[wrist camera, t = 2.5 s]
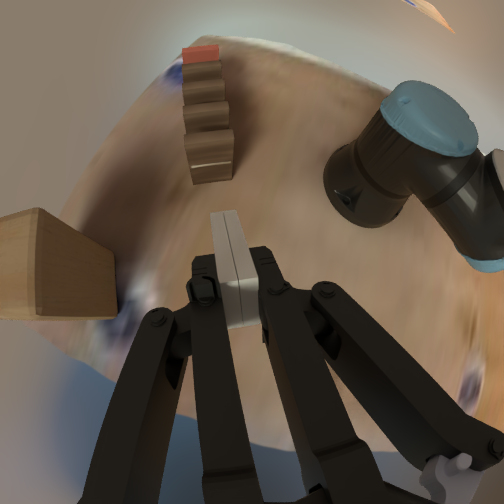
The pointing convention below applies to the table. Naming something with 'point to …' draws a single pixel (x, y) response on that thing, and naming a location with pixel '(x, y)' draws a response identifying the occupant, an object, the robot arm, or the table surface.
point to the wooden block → (53, 271)
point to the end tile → (200, 54)
